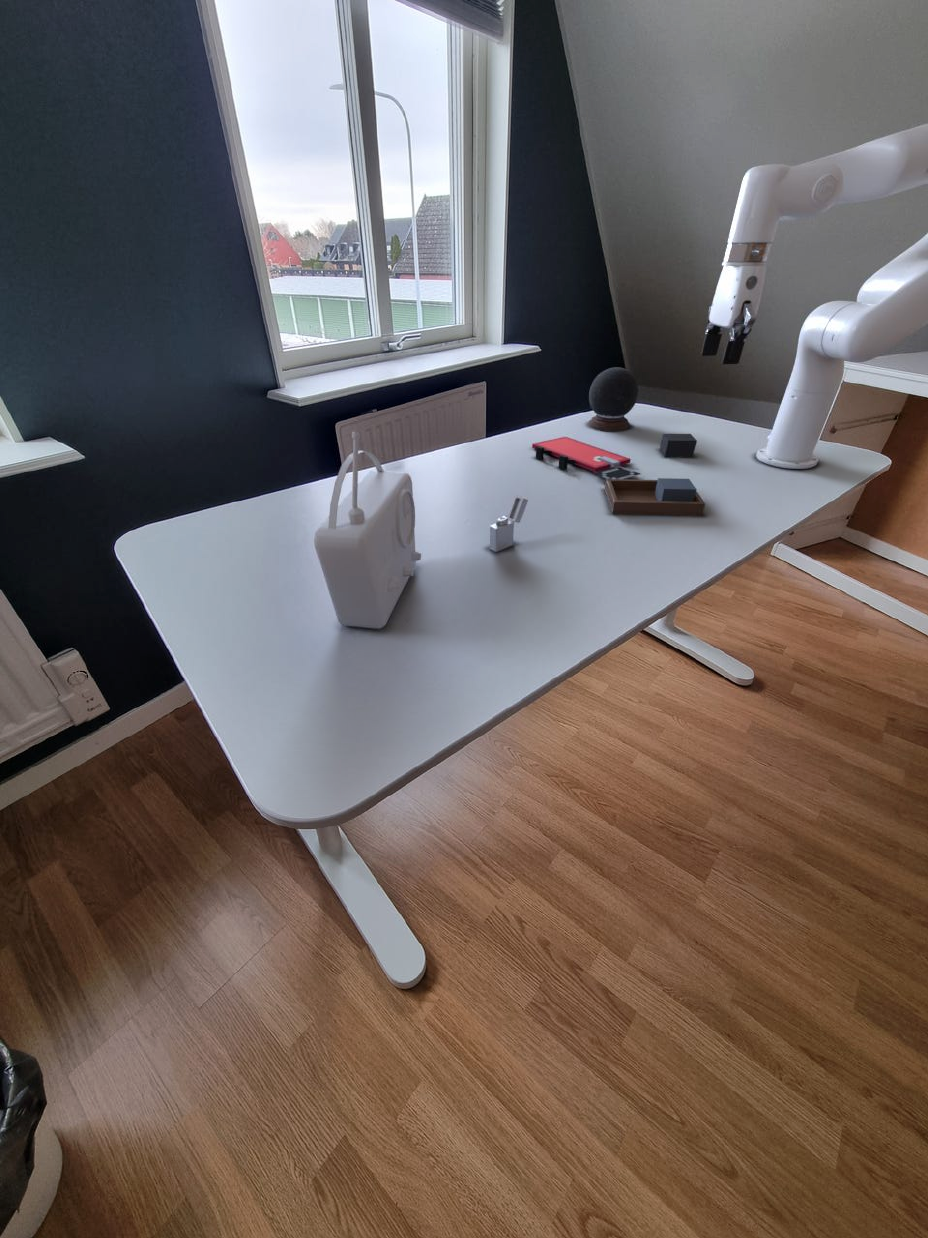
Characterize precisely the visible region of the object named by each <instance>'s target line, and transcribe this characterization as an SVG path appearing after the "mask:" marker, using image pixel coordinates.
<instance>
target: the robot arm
mask: <svg viewBox="0 0 928 1238" xmlns="http://www.w3.org/2000/svg"><path fill="white" fill-rule="evenodd" d="M925 185H928V123H924V124H921V125H918V126H915V127H912V128H909V129H905V130H902V131H898V132H895V133H892V134H889V135H886V136H883V137H878V138H876V139H873V140H871V141H868V142H865V143H862V144H860V145H857V146H854V147H852V148H849V149H846V150H843V151H840V152H837V153H832V154H830V155H826V156H824V157H820V158H817V159H813V160H811V161H807V162H804V163H800V164H798V165H788V164H783V163H770V164H761V165H756V166H753V167H751V168H749V169H747V171H746V172H745V174H744V176H743V178H742V182H741V185H740V189H739V193H738V197H737V201H736V206H735V209H734V214H733V216H732V217H733V219H732V222H731V226H730V231H729V234H728V238H727V242H726V247H725V250H724V253H723V259H722V263H721V266H722V271H721V273H720V275H719V280H718V282H717V285H716V288H715V289H716V290H715V292H714V296H713V300H712V302H711V306H709V308H708V315H707V316H708V317H707V320H706V326H707V327H706V328H705V332H704V333H705V335H704V340H703V344H702V347H701V350H700V351H701V352H700V356H703V357H712V356H717V355H718V351H719V347H720V343H721V341H722V336H723V333H721V332H722V331H723V329H729V340H727V341H726V345H725V348H724V351H723V355H722V359H721V364H722V365H738V364H739V363H740V360H741V357H742V353H743V350H744V346H745V343H746V341H747V340H748V336H749V334H750V333H751V332H752V328H753V326H754V325H755V322H756V320H757V316H758V315H757V314H758V311H759V306H760V303H761V299H762V294H763V289H764V285H765V279H766V272H767V265H768V261H769V257H770V254H771V250H772V246H773V242H774V240H775V237H776V232H777V231H778V230H777V229H778V225H779V222H790V221H804V220H810V219H814V218H817V217H819V216H821V215H822V214H825V212H826V211H828V210H830V209H831V207H832V206H836V205H837V206H838V205H846V204H854V203H855V204H857V203H863V202H869V201H873V200H874V201H875V200H879V199H883V198H887V197H889V196H893V195H895V194H898V193H902V192H905V191H909V190H912V189H915V188H919V187H922V186H925ZM927 324H928V232H927V233H926V234H925V235H924V236H923V237H922V238H920V239H918V241H916V242H915V243H914V244H912V245H911V246H910V247H908V248H907V249H906V250H904V251H903V252H902V253H900V254H899V255H898V256H896V257H894V258H893V259H892V260H891V261H889V262H888V263H886V264H885V265H884V266H883V267H881V268H880V269H878V270H877V271H875V272H874V273H872V275H871V276H870V277H869V278H868V279H866V280H865V282H864V283H863V284H862V286H861V287H860V288H859V290H858V293H857V296H856V301H851V300H832V301H829V302H825V303H823V304H821V305H819V306H817V307H816V308H815V309H813V310H812V311H811V312H810V313H809V315H808V316H807V317H806V319H805V320H804V322H803V324H802V327H801V329H800V332H799V336H798V342H797V347H796V354H795V355H796V356H795V360H794V364H793V367H792V370H791V373H790V376H789V380H788V382H787V385H786V388H785V392H784V394H783V397H782V399H781V400H782V401H781V403H780V406H779V409H778V412H777V415H776V417H775V421H774V423H773V427H772V429H771V432H770V434H769V435H767V440H768V441H767V444H766V447H762V448H760V449H758V450H757V451H756V454H755V457H756V459H757V460H758V461H760V463H761V462H762V463H764V464H766V465H769V466H773V467H777V468H782V469H790V470H805V469H810V468H813V467H816V466H817V464H818V462H819V458H818V457H817V455H815V454H813V453H814V451H815V449H816V446H817V445H818V444H817V443H818V442H819V439H820V436H821V434H822V431H823V429H824V426H825V424H826V421H827V419H828V416H829V414H830V411H831V408H832V406H833V404H834V401H835V399H836V397H837V394H838V392H839V389H840V386H841V384H842V381H843V378H844V371H845V361H846V362H850V363H864V362H868V361H871V360H873V359H875V358H877V357H879V356H881V355H882V354H884V353H886V352H887V351H889V350H890V349H892V348H894V347H895V346H896V345H898V344H899V343H901V342H902V341H904V340H905V339H907V338H908V337H910V336H911V335H912V334H914V333H915V332H917V331H918V330H920V329H921V328H923V327H924V326H926V325H927Z"/></svg>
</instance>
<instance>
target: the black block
mask: <svg viewBox="0 0 928 1238" xmlns="http://www.w3.org/2000/svg"><path fill="white" fill-rule="evenodd" d="M660 441H661V443H660V445H659V452H661V454H662V456H663V457H664V458H694V454H695V450H696V446H697V442H698V440H697V439H696V438H695V437H694V436H693V434H692V433H662V437H661V440H660Z"/></svg>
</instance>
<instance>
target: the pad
mask: <svg viewBox="0 0 928 1238" xmlns="http://www.w3.org/2000/svg"><path fill="white" fill-rule="evenodd" d="M657 480H658V481H657V485H656V490H655V494H654V495H655V497H656V499H657V501H677V502H693V501H694V498H695V494H696V491H697V490H698V489H697V488H696V486H695V485H694V483H693V482H692V481H691V479H690V478H672V477H671V478H670V477H669V478H664V477H662V478H661V477H658V478H657Z"/></svg>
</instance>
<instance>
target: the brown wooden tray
mask: <svg viewBox="0 0 928 1238" xmlns="http://www.w3.org/2000/svg"><path fill="white" fill-rule="evenodd" d="M657 481H658V479H629V478H625V479H606V478H605V485H604V493H605V496H606V499H607V502H608V505H609V508H610V512H611V514H612V515H642V516H643V515H645V516H647V515H649V516H685V517H687V516H689V517H690V516H693V517H694V516H695V517H702V516H703V512H704V510H705V505H706V503H705V501H704V499H703V498H702V496H701V495H700V494H699V492H698V491H697V490H696V494H695V498H694V501H693V502H677V501H657V499H656V497H655V495H654V494H655V490H656V485H657Z"/></svg>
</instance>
